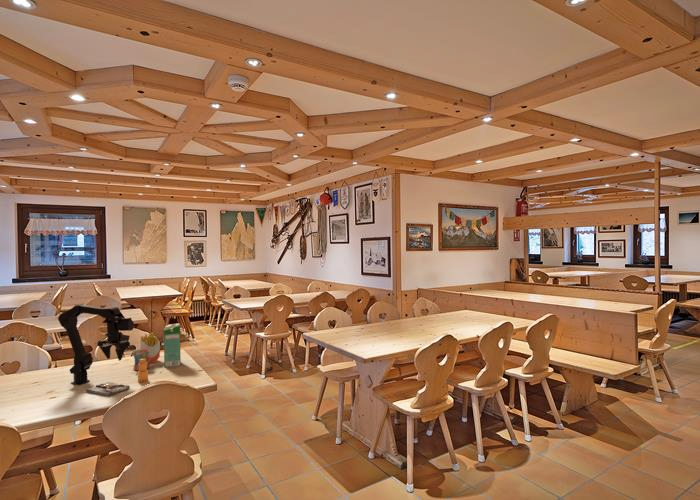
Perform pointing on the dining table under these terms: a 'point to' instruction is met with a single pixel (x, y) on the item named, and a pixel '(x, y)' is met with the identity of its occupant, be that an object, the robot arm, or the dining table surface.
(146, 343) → the french fries container
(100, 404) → the dining table surface
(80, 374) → the robot arm
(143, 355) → the mug
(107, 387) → the plate
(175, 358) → the milk carton
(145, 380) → the wire nut
